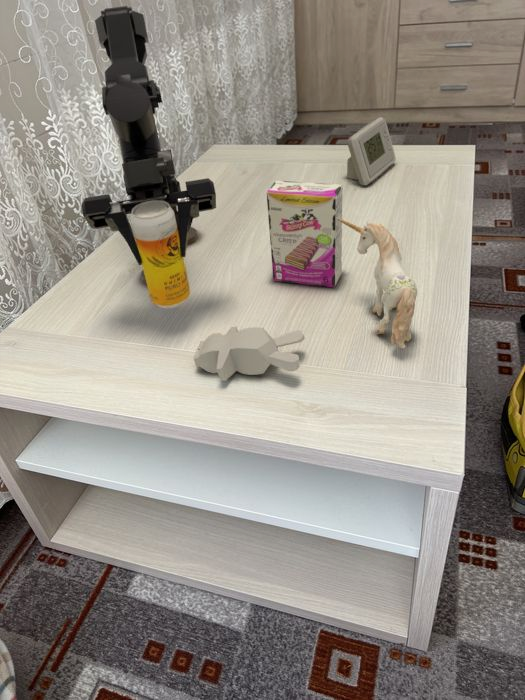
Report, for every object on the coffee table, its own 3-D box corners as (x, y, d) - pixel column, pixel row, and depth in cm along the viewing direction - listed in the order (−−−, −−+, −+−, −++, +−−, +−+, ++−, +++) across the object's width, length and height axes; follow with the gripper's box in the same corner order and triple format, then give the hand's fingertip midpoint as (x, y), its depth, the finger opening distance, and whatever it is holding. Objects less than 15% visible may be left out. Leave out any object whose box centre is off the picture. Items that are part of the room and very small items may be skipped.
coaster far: (159, 243, 110) (158, 238, 109) (178, 229, 114) (176, 224, 113) (186, 248, 107) (184, 243, 107) (203, 234, 112) (202, 228, 111)
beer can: (176, 314, 82) (155, 221, 72) (143, 305, 84) (119, 214, 75) (198, 292, 86) (181, 202, 76) (167, 284, 88) (146, 196, 79)
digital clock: (364, 189, 122) (365, 140, 115) (332, 180, 127) (332, 133, 120) (407, 166, 130) (410, 119, 123) (375, 158, 135) (377, 113, 129)
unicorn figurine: (375, 281, 92) (378, 207, 84) (442, 347, 78) (455, 264, 69) (336, 292, 91) (336, 217, 82) (397, 361, 76) (404, 278, 68)
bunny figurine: (202, 321, 81) (302, 313, 77) (211, 348, 84) (308, 342, 80) (184, 362, 74) (294, 357, 70) (195, 390, 77) (300, 386, 73)
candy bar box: (272, 282, 95) (264, 192, 85) (281, 268, 99) (274, 179, 88) (336, 289, 92) (335, 196, 81) (342, 274, 95) (343, 182, 85)
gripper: (62, 141, 72) (82, 256, 70) (203, 119, 73) (226, 231, 72) (83, 177, 83) (101, 277, 81) (205, 157, 84) (225, 255, 83)
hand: (161, 260), depth 79 cm, fingers closed on beer can, 6 cm apart
